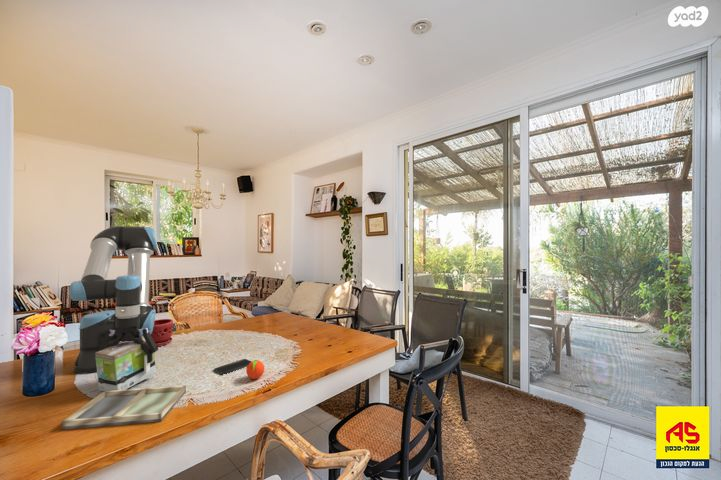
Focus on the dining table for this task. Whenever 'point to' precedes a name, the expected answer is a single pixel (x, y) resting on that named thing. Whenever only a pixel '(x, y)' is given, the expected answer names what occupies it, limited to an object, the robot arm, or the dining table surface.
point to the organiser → (126, 407)
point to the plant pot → (162, 331)
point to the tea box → (122, 366)
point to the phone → (232, 366)
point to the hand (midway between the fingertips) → (127, 372)
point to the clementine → (255, 369)
